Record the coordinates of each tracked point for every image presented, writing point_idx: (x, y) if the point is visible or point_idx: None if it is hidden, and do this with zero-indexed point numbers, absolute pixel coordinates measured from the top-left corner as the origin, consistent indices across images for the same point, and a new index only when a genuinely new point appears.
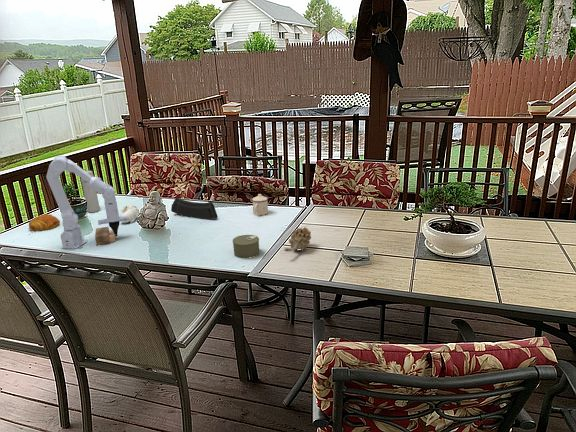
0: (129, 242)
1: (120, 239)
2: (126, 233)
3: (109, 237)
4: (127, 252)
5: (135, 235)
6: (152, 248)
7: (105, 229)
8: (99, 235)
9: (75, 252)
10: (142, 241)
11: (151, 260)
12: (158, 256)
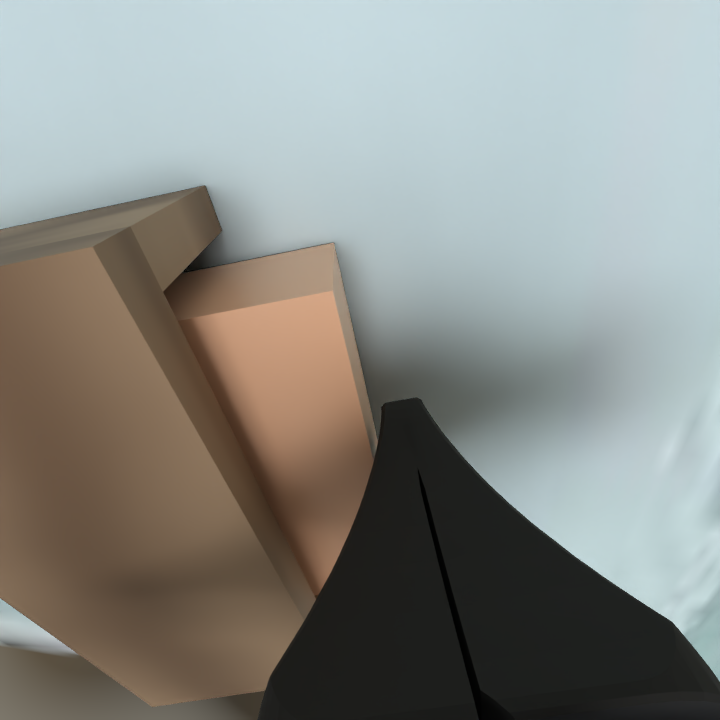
0: (558, 534)
1: (455, 444)
2: (571, 179)
3: None
4: None
5: (695, 341)
6: (704, 635)
7: (147, 486)
8: (194, 680)
9: (53, 637)
10: (693, 532)
11: None
12: None
